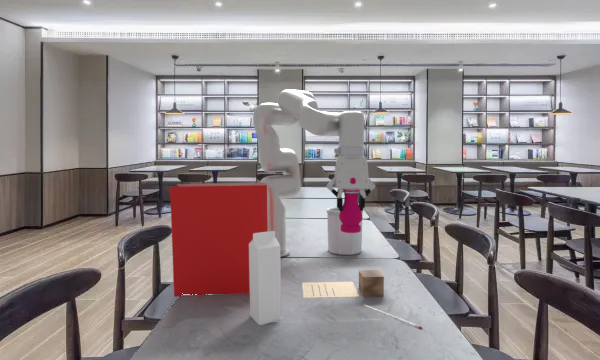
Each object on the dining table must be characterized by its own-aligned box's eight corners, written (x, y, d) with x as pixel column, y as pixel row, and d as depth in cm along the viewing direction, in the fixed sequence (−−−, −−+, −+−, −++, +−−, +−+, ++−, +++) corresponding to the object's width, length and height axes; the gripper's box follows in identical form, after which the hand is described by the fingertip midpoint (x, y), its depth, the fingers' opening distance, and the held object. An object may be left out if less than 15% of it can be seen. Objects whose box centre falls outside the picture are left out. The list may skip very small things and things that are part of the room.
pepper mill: (336, 228, 121) (337, 166, 119) (358, 228, 122) (359, 166, 120) (342, 233, 114) (342, 167, 112) (365, 233, 114) (366, 167, 113)
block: (362, 297, 107) (362, 277, 107) (358, 289, 113) (358, 270, 113) (383, 297, 107) (383, 276, 107) (378, 289, 113) (378, 269, 113)
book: (174, 296, 109) (170, 186, 106) (180, 286, 117) (176, 184, 114) (268, 292, 111) (266, 185, 109) (268, 282, 119) (266, 182, 116)
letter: (303, 298, 107) (303, 297, 107) (301, 283, 119) (301, 282, 119) (359, 297, 107) (359, 296, 107) (352, 282, 119) (352, 281, 119)
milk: (281, 320, 93) (281, 233, 91) (258, 326, 90) (257, 236, 88) (271, 311, 99) (270, 228, 97) (249, 316, 96) (248, 231, 94)
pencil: (420, 330, 88) (420, 327, 88) (359, 305, 102) (359, 303, 102) (422, 329, 89) (422, 326, 89) (361, 305, 103) (361, 302, 103)
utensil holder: (327, 245, 164) (327, 205, 163) (362, 246, 162) (362, 206, 161) (325, 255, 150) (325, 211, 148) (363, 256, 148) (363, 212, 146)
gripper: (324, 152, 111) (324, 212, 113) (382, 152, 112) (381, 212, 114) (321, 152, 118) (321, 208, 120) (375, 151, 120) (374, 208, 121)
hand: (350, 209), depth 117 cm, fingers closed on pepper mill, 5 cm apart
